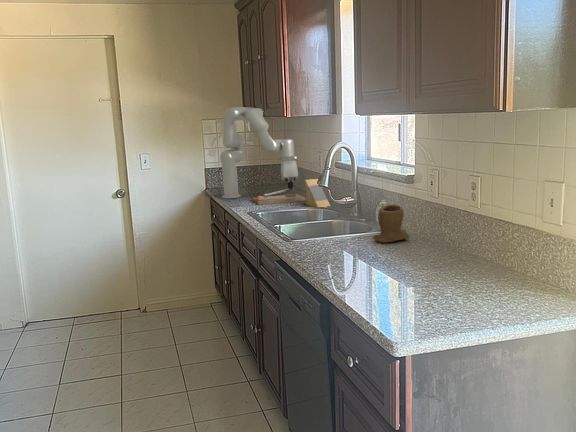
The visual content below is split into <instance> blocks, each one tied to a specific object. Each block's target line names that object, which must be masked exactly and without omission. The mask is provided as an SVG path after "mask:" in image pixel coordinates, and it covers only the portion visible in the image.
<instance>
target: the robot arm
mask: <svg viewBox="0 0 576 432" xmlns="http://www.w3.org/2000/svg"><path fill="white" fill-rule="evenodd" d="M262 110H263V109H262V108H260V107H259V108H258V107H247V106H240V107H239V106H235V107H234V106H233V107H230V108H228V109H227V110H225V112H224V113H223V116H222V123H223V126H222V127H223V128H222V144H223V146H224V147H225V148H227V149H225V150H224V151H222V152H221V153H220V157H219V158H220V162H221V163H220V164H221V168H222V169H221V170H222V184H223V195H222V196H221V198H222V199H238V198H241V194H240V193H239V183H238V182H239V181H238V170H237V166H236V164H239V163H241V162H242V160H243V158H244V144H245V143H244V137H243V135H242V133H240V132H237V125H236V122H237V121H248V122H249V124H250V125H251V126H252V127H253V129H254V130H255V131H256V132H257V135H258V138H259V141H260V144H261V145H262V146H263V147H264V149H266V151H268V152H269V153H278V152H279V153H280V152H281V156H282V161H281V163H280V177H281V180H282V181H285V182H286V183H287V187H288V188H287V189H293V188H294V182H295V180H297V179H299V171H298V170H299V169H298V163H297V161H296V159H297V157H298V156H295V146H294V140H293V139H292V138H289V139H288V138H286V139H280V138H279V139H273V138H272V137H271V136H270V134H269V132H268V129H269V128H270V127H269V123H268V122H267V120H265V117H263V112H264V110H263V111H262ZM228 148H229V149H228Z"/></svg>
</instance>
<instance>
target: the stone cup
mask: <svg viewBox="0 0 576 432" xmlns="http://www.w3.org/2000/svg"><path fill="white" fill-rule="evenodd" d="M377 213H378V214H377V220H378V225H379V228H380V233H379V234H375V235H374V236H373V238H372V239H373V240H374V241H375V242H379V243H392V242H398V241H402V240H407V239H409V238H410V235H409V233H407V232H406V230H405V229H402V224H403V220H404V217H405V216H404V214H405V213H404V209H403V207H402V206H400V205H399V204H387V205H384V206H381V207H380V208H379V209H378V212H377Z"/></svg>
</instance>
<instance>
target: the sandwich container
mask: <svg viewBox="0 0 576 432" xmlns="http://www.w3.org/2000/svg"><path fill="white" fill-rule="evenodd" d="M318 180H319V179H318V178H312V179H305V201H306V206H309V207H312V206H313V208H316V207H324V208H328V207H327V206H331V205H330V202H329V199H328V198H327V196H326V193H325V192H324V189H323V188H322V186H321V187H319V186H318V184H317V181H318Z"/></svg>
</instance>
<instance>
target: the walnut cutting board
mask: <svg viewBox="0 0 576 432" xmlns="http://www.w3.org/2000/svg"><path fill="white" fill-rule="evenodd" d="M294 194H295V195H296V197H282V198H271V199H263V200H258V196H256V197H255V196H254V197H251V202H253V203H255V204H257V205H260V206H261V205H268V204H269V205H270V204H281V203H282V204H284V203H291V202H292V203H293V202H303V201H306V196H305V197H304V196H303V195H300V194H298V193H294ZM282 195H283V194H281V195H276V196H282ZM271 196H272V195H269V196H267V197H271Z"/></svg>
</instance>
